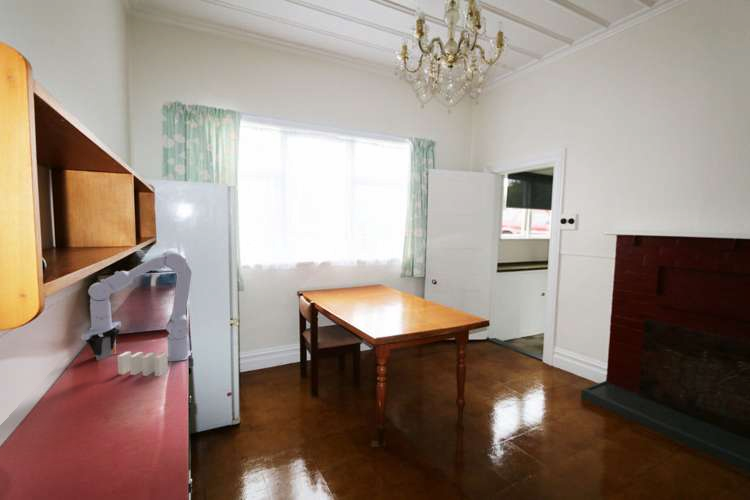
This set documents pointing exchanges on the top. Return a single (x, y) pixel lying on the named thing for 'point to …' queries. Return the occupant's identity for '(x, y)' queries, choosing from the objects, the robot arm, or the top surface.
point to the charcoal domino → (105, 349)
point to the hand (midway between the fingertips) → (103, 352)
